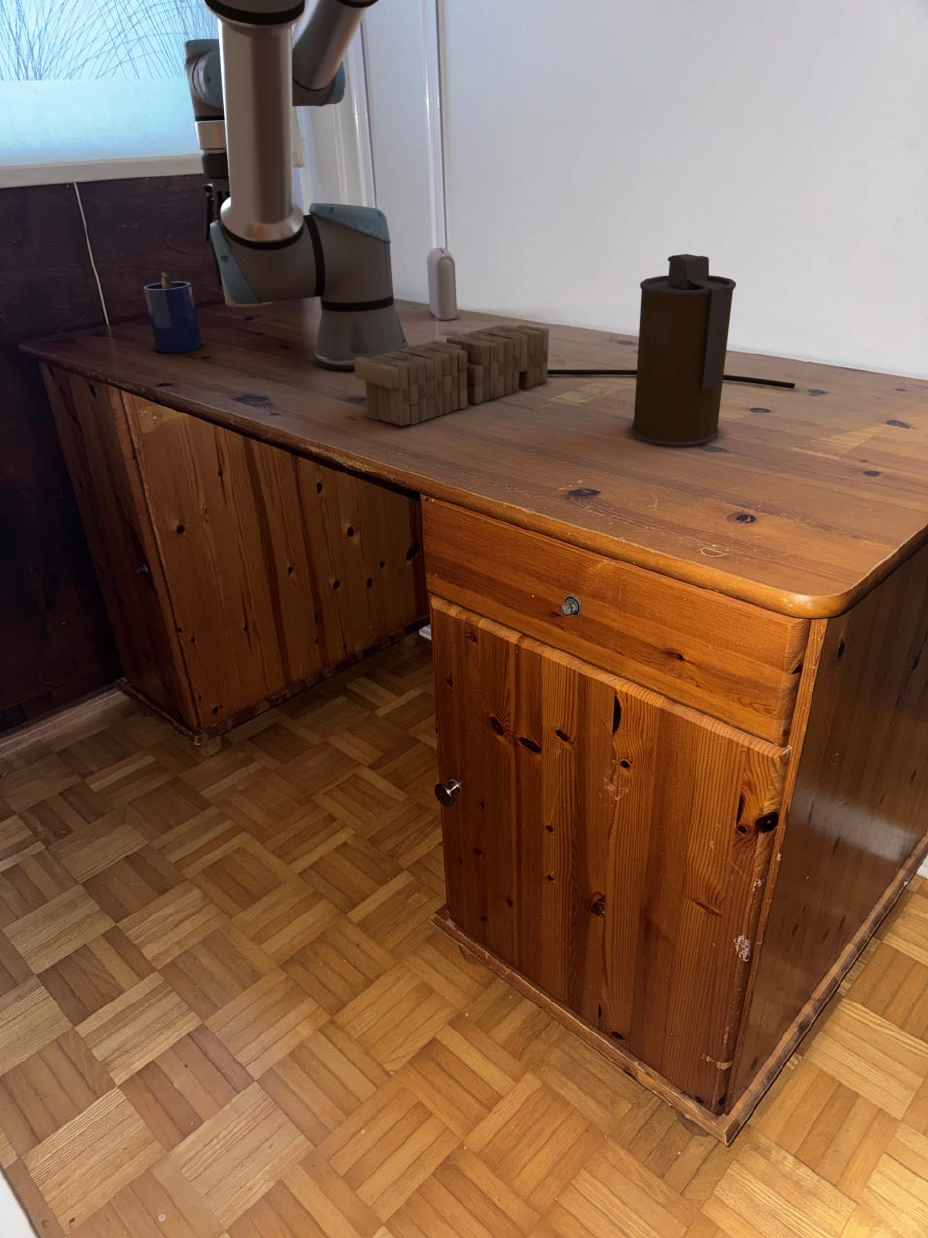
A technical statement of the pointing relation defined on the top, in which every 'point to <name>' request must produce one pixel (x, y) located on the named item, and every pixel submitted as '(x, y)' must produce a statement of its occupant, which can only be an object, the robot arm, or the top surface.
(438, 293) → the photo printer
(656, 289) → the canister
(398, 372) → the block tower
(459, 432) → the top surface
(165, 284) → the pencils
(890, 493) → the top surface
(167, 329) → the pen pot
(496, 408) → the top surface
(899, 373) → the top surface
